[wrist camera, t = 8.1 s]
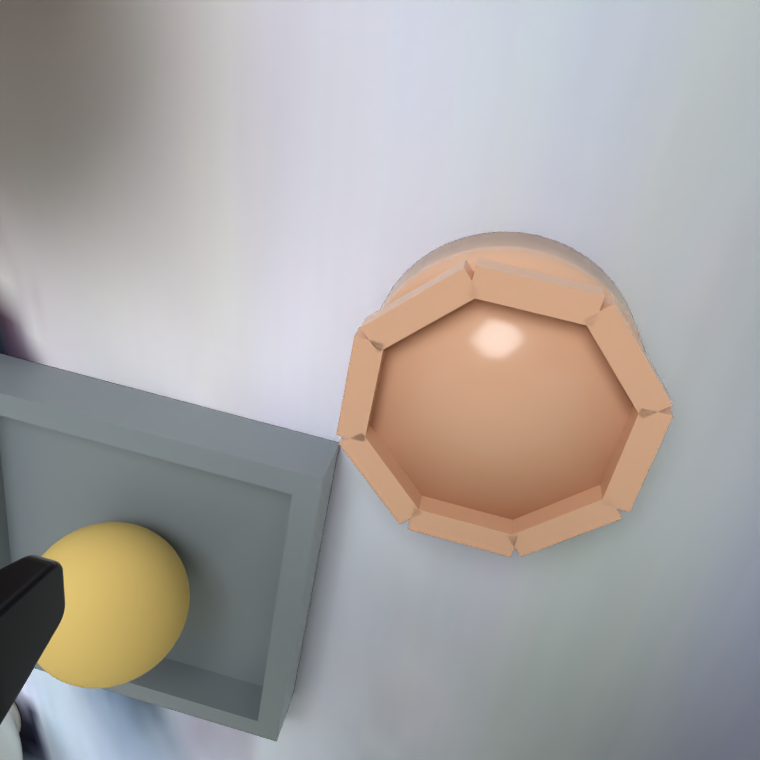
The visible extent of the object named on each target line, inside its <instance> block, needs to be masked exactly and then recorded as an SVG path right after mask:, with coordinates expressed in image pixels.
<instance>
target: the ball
mask: <svg viewBox="0 0 760 760" xmlns="http://www.w3.org/2000/svg"><path fill="white" fill-rule="evenodd" d="M41 557H45V558H48V559H51V560H55V561H57V562H59V563H60V564H61V566H62V568H63V577H64V592H65V611H64V614H63V618H62V620H61V622H60V624H59V626H58V628H57V629H56V631H55V633H54V635H53V636H52V638H51V640H50V641H49V643H48V645H47V646H46V648H45V650H44V652H43V653H42V655H41V657H40V658H39V660H38V662H37V663H38V664H39V665H40V666H41V667H42V668H43V669H44V670H45V671H46V672H47V673H49V674H50V675H51V676H53V677H55V678H56V679H58V680H60V681H62V682H65V683H67V684H70V685H74V686H78V687H83V688H108V687H113V686H117V685H121V684H124V683H127V682H129V681H132V680H134V679H136V678H138V677H140V676H142V675H143V674H145V673H146V672H148V671H149V670H151V669H152V668H153V667H155V666H156V665H157V664H158V663H159V662H160V661H162V659H163V658H164V657H165V656H166V655H167V654H168V653H169V652H170V650H171V649H172V648H173V646H174V645H175V643H176V641H177V640H178V638H179V636H180V635H181V632H182V630H183V628H184V625H185V622H186V619H187V615H188V610H189V603H190V589H189V581H188V577H187V573H186V570H185V567H184V565H183V563H182V561H181V559H180V557H179V556H178V554H177V553H176V551H175V550H174V549H173V548H172V546H171V545H170V544H169V543H168V542H167V541H166V540H164V539H163V538H162V537H161V536H159V535H158V534H156V533H155V532H153V531H151V530H149V529H147V528H144V527H142V526H139V525H136V524H131V523H125V522H104V523H97V524H92V525H89V526H86V527H83V528H80V529H78V530H76V531H73V532H72V533H70V534H68V535H66V536H64V537H63V538H62V539H60V540H59V541H57V542H56V543H55V544H53V545H52V546H51V547H50V548H49V549H48V550H47V551H46V552H45V553H44V554H43V555H42V556H41Z"/></svg>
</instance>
